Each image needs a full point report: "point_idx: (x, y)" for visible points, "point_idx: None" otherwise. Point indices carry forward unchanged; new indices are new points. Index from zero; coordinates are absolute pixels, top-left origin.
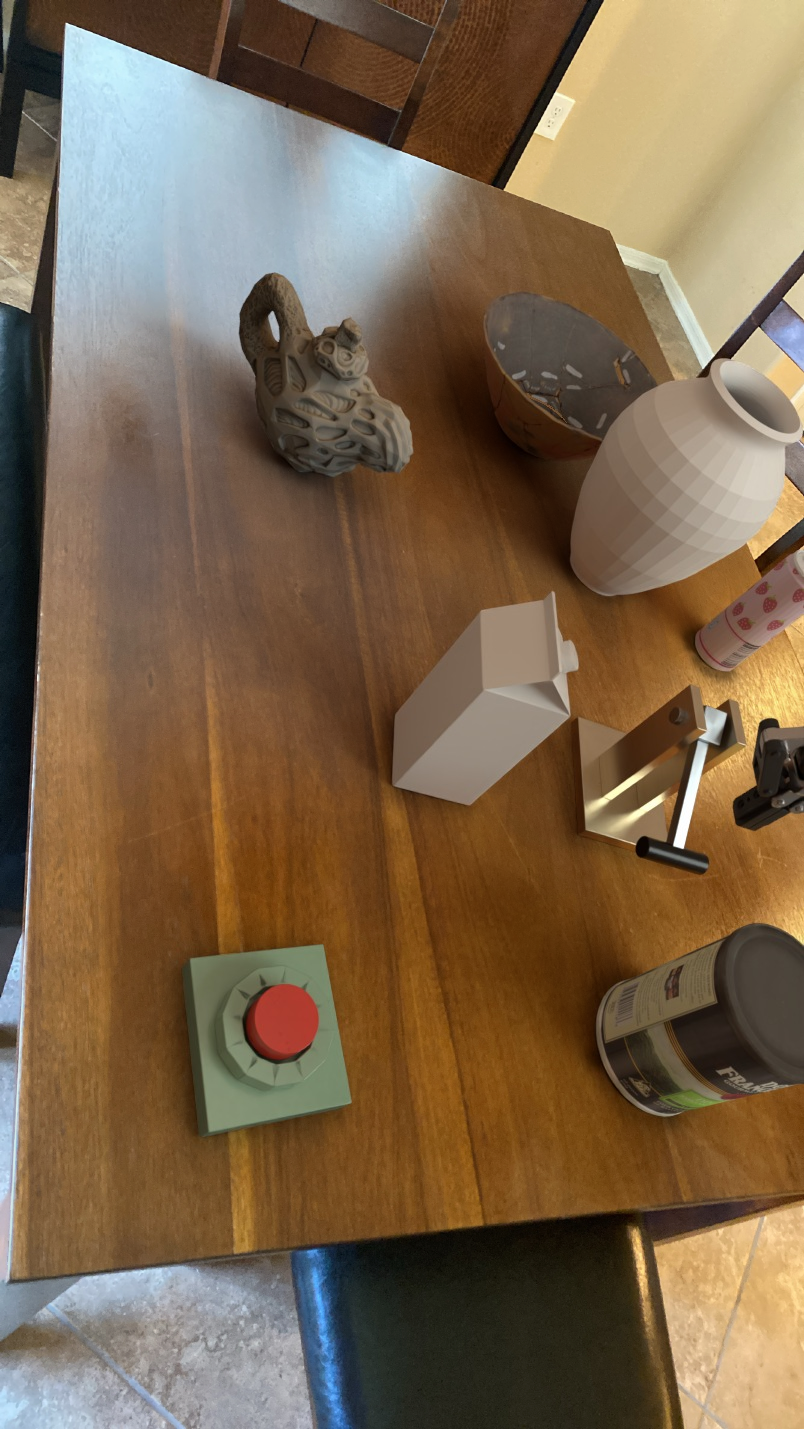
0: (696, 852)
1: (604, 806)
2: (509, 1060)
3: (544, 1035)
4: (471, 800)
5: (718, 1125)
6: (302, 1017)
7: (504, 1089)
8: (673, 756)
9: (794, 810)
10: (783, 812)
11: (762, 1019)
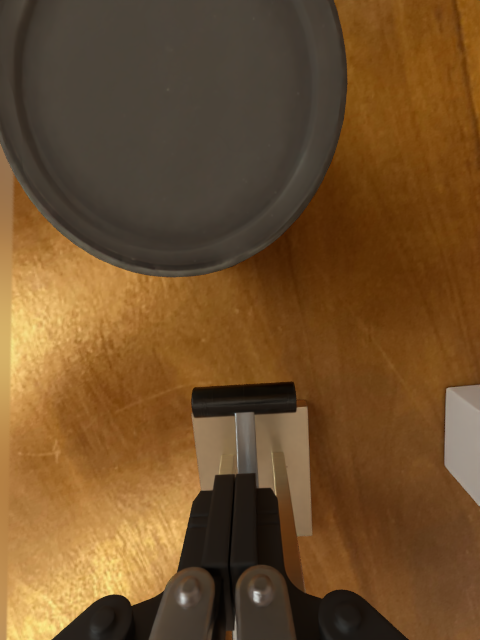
0: (212, 415)
1: (281, 442)
2: (402, 113)
3: (356, 154)
4: (458, 392)
5: None
6: None
7: (410, 77)
8: None
9: (197, 579)
10: (212, 555)
11: (238, 18)
